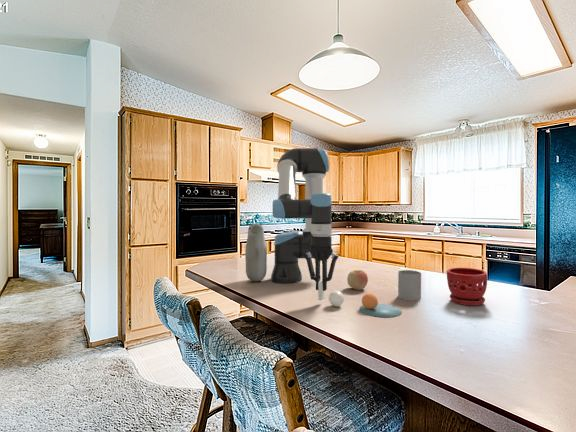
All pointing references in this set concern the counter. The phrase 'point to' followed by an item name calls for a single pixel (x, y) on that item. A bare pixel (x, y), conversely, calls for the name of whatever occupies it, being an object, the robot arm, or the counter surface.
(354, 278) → the apple
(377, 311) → the teal mark
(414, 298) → the cup
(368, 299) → the orange ball
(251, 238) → the grey bottle
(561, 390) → the counter surface
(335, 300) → the cue ball
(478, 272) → the plant pot
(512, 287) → the counter surface
